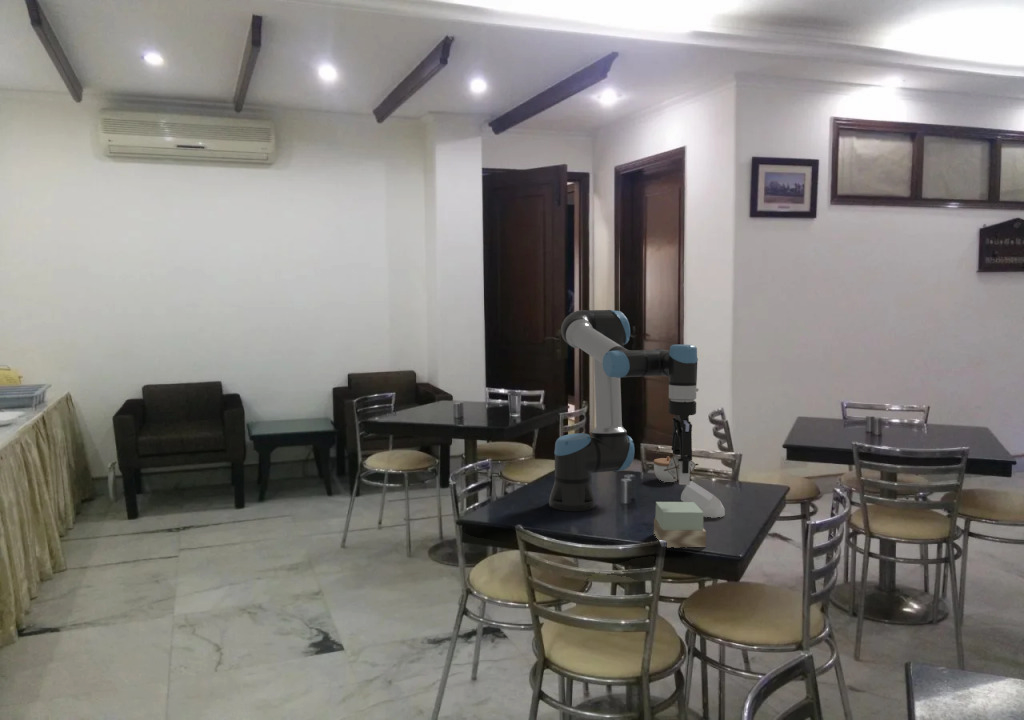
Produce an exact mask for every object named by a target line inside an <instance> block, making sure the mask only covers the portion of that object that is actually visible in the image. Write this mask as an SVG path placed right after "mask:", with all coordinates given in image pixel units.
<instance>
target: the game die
mask: <svg viewBox="0 0 1024 720" xmlns="http://www.w3.org/2000/svg"><path fill="white" fill-rule="evenodd" d="M670 456H671V457H670V458H671V460H670V462H669V465H668V467H667V469H665V470H663V471H668V472H669V473H670V474H671V475H672V476H673V477H674V478H673V479H676V484H679V461H678V459H680V458H681V457H680V455H675V454H673V453H670ZM698 465H699V463H695V462H694V461H693V460H690V482H691V481H693V480H692V476H693V475H694V471H695V468H696V467H697V466H698Z"/></svg>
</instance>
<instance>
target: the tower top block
mask: <svg viewBox="0 0 1024 720" xmlns="http://www.w3.org/2000/svg"><path fill="white" fill-rule="evenodd" d="M703 515H704V512H703V511H702V510H701V509H700V508H699V507H698V506H697V505H696V504H695V503H694V502H683V501H655V519H656V520H657V522H658V523H659V525H660V526H661V528H662V529H663V530H703V528H704V516H703Z"/></svg>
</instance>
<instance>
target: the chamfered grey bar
mask: <svg viewBox="0 0 1024 720" xmlns="http://www.w3.org/2000/svg"><path fill="white" fill-rule="evenodd" d="M680 500H681V502H694V503H695V504H696V505H697V506H698V507H699V508H700V509H701V510H702V511H703V512H704V515H703V518H707V517H711V518H710V519H718V518H717V517H720V518H722V517H724V516H725V515H726V512H725V511H726V509H725V507H724V505H723V502H721V499H720V498H718V497H717V496H715V494H713V493H712V492H710V491H708V490H706V489H705V488H704V487H702V486H700V485H699V484H697V483H695V482H694V481H693V480H692V481H690V484H689V485H685V487H684V489H683V490H682V492H681V495H680Z"/></svg>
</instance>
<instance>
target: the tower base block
mask: <svg viewBox="0 0 1024 720" xmlns="http://www.w3.org/2000/svg"><path fill="white" fill-rule="evenodd" d="M654 534H655V535H654ZM653 535H654V537H655V536H656V537H655V538H657V539H658V540H666V542H667V548H668V549H669V548H671V547H674V549H678V548H680V547H685V548H684V549H686V548H687V547H706V548H707V545H706V544H707V530H706V529H705V528H704V527H703V530H663V529H662V528H661V526H660V525H659V523H658V522H657V520H656V519H655V518H653ZM657 539H656V540H657ZM658 540H657V541H658ZM671 549H672V548H671ZM680 549H681V548H680ZM687 549H688V548H687Z"/></svg>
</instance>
